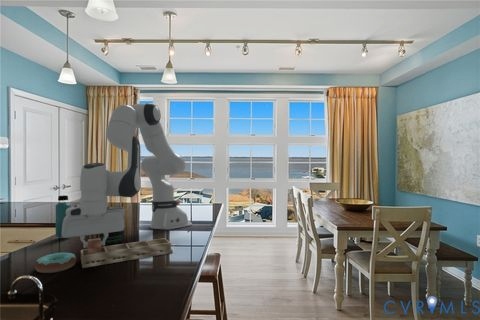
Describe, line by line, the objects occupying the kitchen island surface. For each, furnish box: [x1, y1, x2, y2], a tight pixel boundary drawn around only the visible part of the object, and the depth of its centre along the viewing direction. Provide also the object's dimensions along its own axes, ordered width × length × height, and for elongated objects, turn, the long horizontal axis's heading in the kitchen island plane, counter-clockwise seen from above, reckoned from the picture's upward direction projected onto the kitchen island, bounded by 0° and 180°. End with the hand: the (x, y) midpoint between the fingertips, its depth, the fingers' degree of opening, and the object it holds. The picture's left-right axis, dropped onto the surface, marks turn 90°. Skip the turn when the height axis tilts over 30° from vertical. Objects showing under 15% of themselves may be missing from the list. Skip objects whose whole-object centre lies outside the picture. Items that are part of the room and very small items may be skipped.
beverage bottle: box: [55, 195, 72, 238], centre depth 137 cm, size 6×7×20 cm
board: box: [80, 237, 173, 269], centre depth 111 cm, size 31×10×4 cm, turn 121°
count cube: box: [87, 237, 101, 253], centre depth 106 cm, size 4×4×4 cm
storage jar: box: [98, 207, 125, 247], centre depth 127 cm, size 10×10×15 cm
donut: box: [34, 252, 77, 274], centre depth 99 cm, size 12×12×4 cm
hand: (94, 246), depth 106 cm, fingers closed on count cube, 4 cm apart
